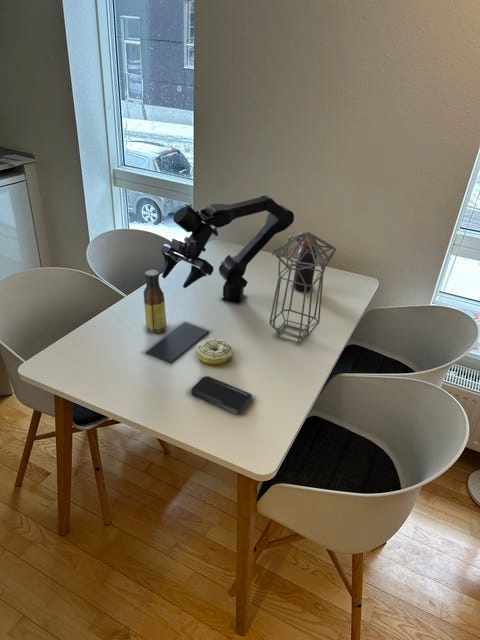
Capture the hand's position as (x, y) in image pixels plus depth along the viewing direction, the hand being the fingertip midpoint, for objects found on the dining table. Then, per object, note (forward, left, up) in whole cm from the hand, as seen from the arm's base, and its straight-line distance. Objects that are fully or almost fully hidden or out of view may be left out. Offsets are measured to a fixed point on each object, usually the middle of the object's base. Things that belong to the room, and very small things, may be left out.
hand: (173, 282), depth 150 cm
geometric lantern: (-38, -9, -14) cm, 41 cm away
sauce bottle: (+2, +8, -14) cm, 16 cm away
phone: (-30, +28, -13) cm, 43 cm away
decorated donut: (-21, +13, -14) cm, 28 cm away
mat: (-8, +11, -13) cm, 19 cm away
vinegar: (-32, -42, -14) cm, 55 cm away
